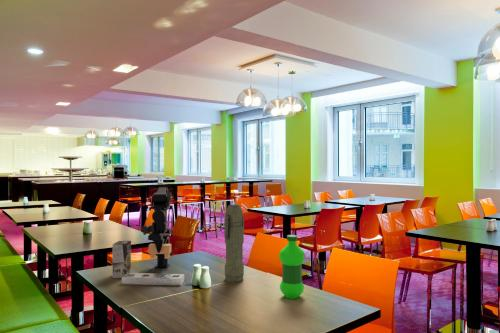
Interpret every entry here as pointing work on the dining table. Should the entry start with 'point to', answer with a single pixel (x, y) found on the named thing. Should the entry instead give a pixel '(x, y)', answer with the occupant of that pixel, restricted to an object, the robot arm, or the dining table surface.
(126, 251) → the coffee box
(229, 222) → the thermos
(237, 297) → the dining table surface
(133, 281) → the rail
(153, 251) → the tapered peach wedge
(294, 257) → the plastic bottle
